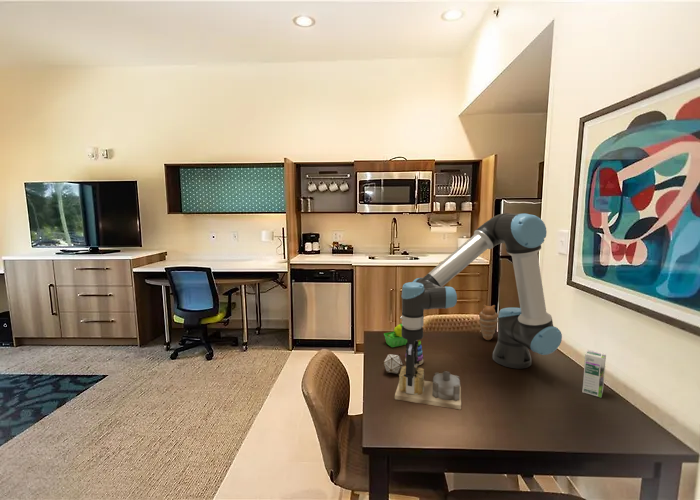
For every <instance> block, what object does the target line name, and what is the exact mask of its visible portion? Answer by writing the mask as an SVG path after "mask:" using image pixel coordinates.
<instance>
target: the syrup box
mask: <svg viewBox="0 0 700 500" xmlns="http://www.w3.org/2000/svg"><path fill="white" fill-rule="evenodd" d="M606 360H607V353H605V352H600V351H595V350H590V349H587V350H586V352H585V354H584V364H583V379H582V380H583V381H582V390H581V391H582V393H583V394H587V395H590V396H594V397H598V398H602V397H603V393H604V382H605V381H604V380H605V371H606Z"/></svg>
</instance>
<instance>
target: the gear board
mask: <svg viewBox="0 0 700 500" xmlns="http://www.w3.org/2000/svg"><path fill="white" fill-rule="evenodd" d="M414 374H415V367H414ZM460 379H461V377H460V376H459V375H457V374H455V375H454V374H451V372H450V371H447V370H444V371H443V372H441V373H439V372H438V371H437V372H434V373H433V377H432V381H429V380H424V387H423V393H422V394H419V395H418V394H417V393H416V394H408V393H406V392H401V391H400V390H399V383H398V384H397V387H396V390H395V393H394V400H396V401H404V402H411V403H416V404H424V405H429V406H435V407H442V408H448V409H455V410H462V385H461V380H460Z"/></svg>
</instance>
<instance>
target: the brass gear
mask: <svg viewBox="0 0 700 500" xmlns="http://www.w3.org/2000/svg"><path fill="white" fill-rule="evenodd" d="M398 374H399V376H398V377H399V379H398V384H399V390H400V391H401V392H406V377H405V376H404V374H406V365H402V367H401V369H400V371H399V373H398ZM424 381H425V368H423V367H418V366H417V367H415V374H414V394H416V393H417V394H418V395H419V394H422V393H423V387H424Z"/></svg>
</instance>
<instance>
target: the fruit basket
mask: <svg viewBox="0 0 700 500" xmlns="http://www.w3.org/2000/svg"><path fill="white" fill-rule="evenodd" d="M383 336H384V339H385V342H386V344H387V345H388V346H389V347H391V348H397V347H402V346H406V343H407V339H404V338H403V337H402V323H399V324H397V326H395V327H394V328H393V331H390V332H385V333H383Z"/></svg>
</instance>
